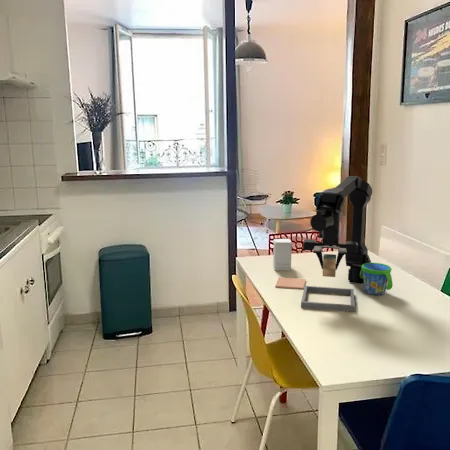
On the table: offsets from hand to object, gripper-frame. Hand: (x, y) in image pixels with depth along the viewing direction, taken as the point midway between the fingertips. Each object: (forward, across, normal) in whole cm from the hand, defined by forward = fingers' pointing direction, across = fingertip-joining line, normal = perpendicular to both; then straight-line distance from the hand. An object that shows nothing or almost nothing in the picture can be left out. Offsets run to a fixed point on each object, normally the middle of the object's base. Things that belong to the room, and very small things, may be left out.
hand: (329, 269), depth 174 cm
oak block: (+2, 0, 0) cm, 2 cm away
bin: (+12, 0, 0) cm, 12 cm away
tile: (+12, +15, -16) cm, 25 cm away
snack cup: (+12, -17, -13) cm, 25 cm away
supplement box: (+12, +21, -37) cm, 44 cm away
